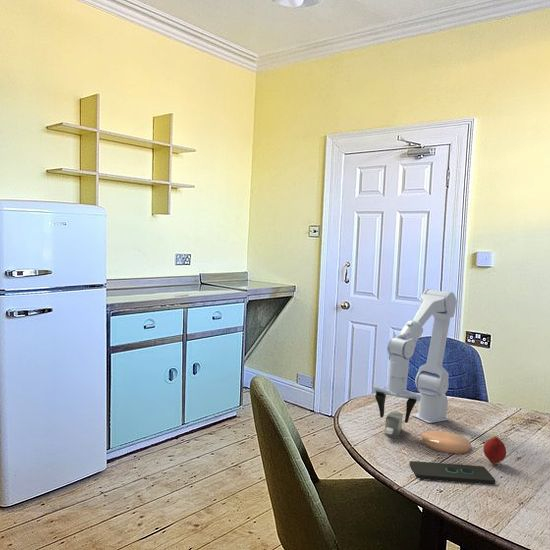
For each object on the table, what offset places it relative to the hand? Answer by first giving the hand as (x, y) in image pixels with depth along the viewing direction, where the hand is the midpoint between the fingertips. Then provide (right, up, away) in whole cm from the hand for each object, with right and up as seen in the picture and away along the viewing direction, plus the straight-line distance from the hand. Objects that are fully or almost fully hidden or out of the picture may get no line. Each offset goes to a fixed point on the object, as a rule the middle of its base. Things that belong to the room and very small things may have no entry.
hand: (394, 419), depth 160 cm
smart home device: (+9, -8, -27) cm, 29 cm away
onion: (+23, -7, -18) cm, 30 cm away
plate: (+14, -6, -6) cm, 16 cm away
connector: (-1, -4, -1) cm, 4 cm away
